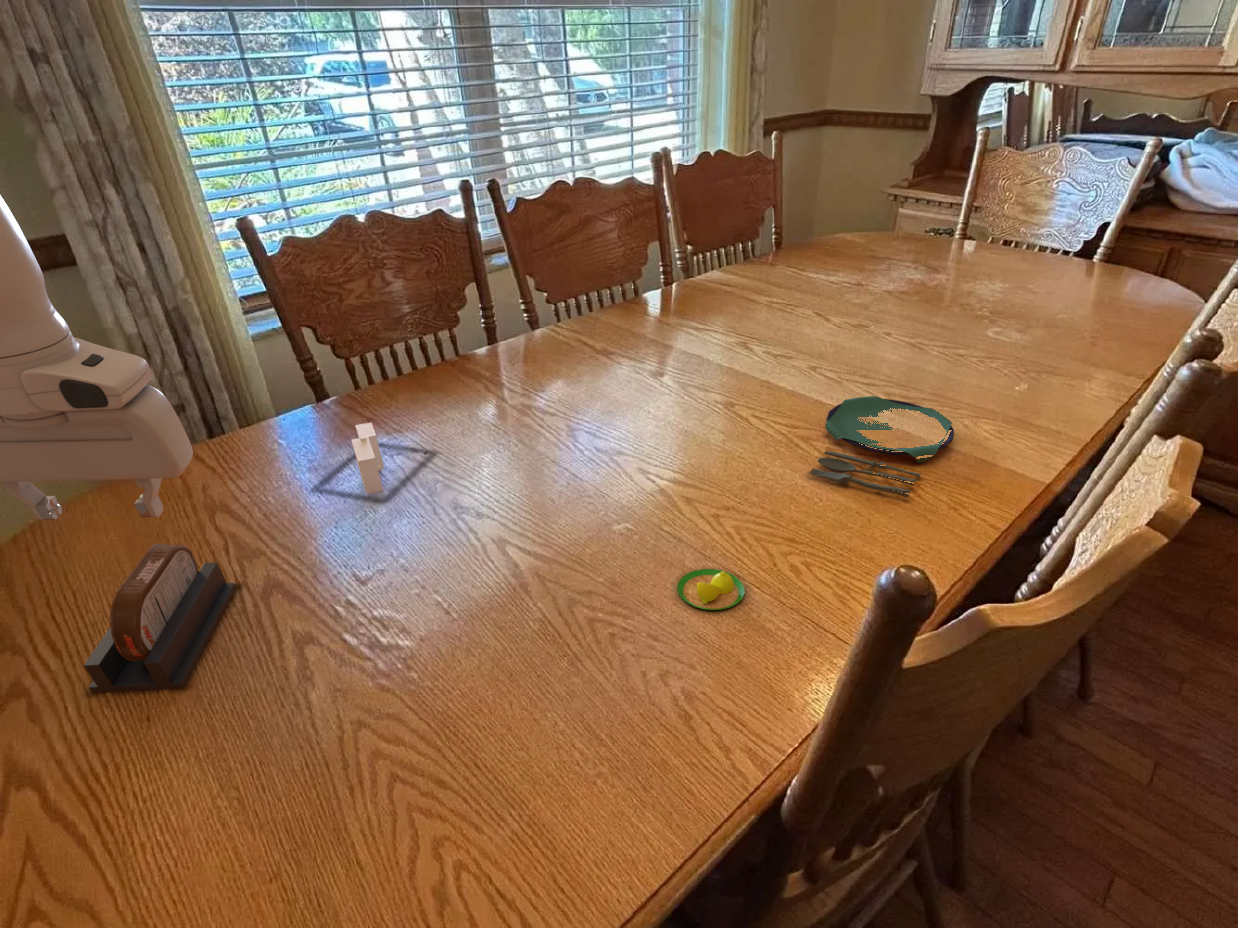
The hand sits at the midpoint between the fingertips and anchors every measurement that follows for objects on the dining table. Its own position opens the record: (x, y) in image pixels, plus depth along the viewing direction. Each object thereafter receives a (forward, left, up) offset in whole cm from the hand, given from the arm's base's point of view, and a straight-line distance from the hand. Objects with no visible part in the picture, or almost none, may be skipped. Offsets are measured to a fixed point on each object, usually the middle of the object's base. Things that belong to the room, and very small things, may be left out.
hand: (102, 515), depth 72 cm
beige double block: (+16, +36, -16) cm, 42 cm away
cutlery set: (+93, +39, -16) cm, 102 cm away
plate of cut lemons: (+61, +4, -16) cm, 63 cm away
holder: (0, 0, -16) cm, 16 cm away
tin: (+1, 0, -15) cm, 15 cm away
